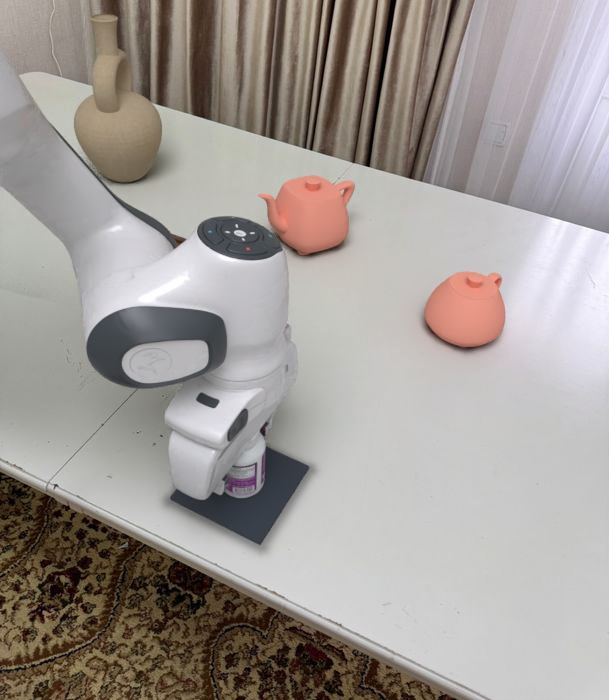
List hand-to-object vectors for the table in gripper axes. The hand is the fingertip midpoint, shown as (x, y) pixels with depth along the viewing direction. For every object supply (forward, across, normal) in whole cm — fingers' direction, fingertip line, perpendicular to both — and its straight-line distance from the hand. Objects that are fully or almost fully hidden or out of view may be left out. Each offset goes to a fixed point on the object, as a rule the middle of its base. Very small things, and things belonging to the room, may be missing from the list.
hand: (241, 458), depth 71 cm
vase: (+5, -54, -61) cm, 82 cm away
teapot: (+5, -52, -18) cm, 55 cm away
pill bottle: (+4, 0, 0) cm, 4 cm away
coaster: (+5, 0, 0) cm, 5 cm away
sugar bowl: (+5, -43, +15) cm, 46 cm away
